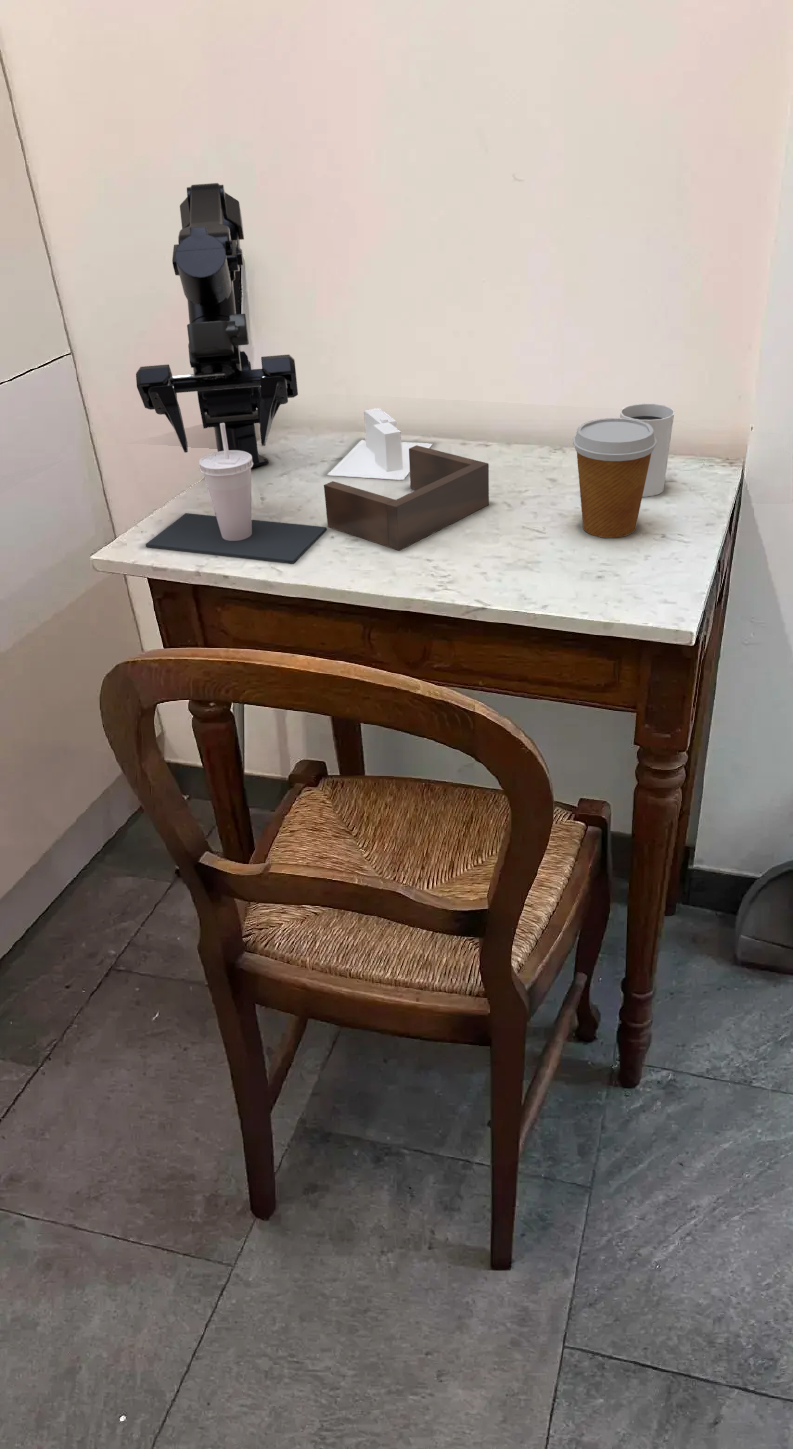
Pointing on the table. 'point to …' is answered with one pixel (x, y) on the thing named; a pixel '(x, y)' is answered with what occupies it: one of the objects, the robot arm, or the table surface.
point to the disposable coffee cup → (612, 473)
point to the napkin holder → (378, 451)
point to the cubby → (412, 500)
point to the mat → (262, 545)
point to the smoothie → (230, 489)
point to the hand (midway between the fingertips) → (224, 447)
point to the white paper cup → (662, 428)
